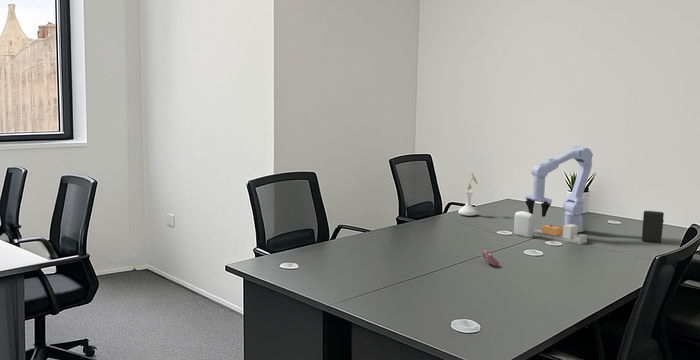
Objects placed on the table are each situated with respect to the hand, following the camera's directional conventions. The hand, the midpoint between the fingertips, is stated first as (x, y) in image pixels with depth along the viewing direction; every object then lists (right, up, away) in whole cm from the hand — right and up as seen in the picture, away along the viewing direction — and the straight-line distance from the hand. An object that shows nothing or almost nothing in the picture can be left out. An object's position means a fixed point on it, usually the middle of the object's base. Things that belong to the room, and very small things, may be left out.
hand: (537, 215), depth 352 cm
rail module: (+12, -10, -13) cm, 21 cm away
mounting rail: (+8, -11, -8) cm, 16 cm away
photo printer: (-8, -10, -4) cm, 14 cm away
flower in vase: (-27, -2, +47) cm, 55 cm away
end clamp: (+6, -9, -6) cm, 12 cm away
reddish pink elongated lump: (-36, -18, -58) cm, 71 cm away
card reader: (+53, -12, -13) cm, 56 cm away
